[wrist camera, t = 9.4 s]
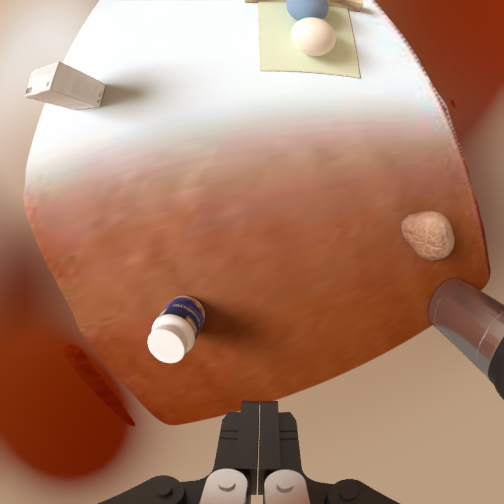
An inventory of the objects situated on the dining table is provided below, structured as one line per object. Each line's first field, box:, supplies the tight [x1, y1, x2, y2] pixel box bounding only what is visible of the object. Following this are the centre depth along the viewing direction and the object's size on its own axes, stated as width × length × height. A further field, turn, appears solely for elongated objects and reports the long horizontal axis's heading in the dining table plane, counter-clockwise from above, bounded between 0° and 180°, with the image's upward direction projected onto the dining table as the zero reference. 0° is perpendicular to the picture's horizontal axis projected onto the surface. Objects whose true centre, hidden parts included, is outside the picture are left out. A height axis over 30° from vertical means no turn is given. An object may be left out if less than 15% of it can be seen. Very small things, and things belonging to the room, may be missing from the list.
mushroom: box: [401, 211, 455, 261], centre depth 31 cm, size 8×6×8 cm
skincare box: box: [25, 62, 105, 110], centre depth 26 cm, size 6×4×12 cm
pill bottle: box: [148, 296, 205, 363], centre depth 34 cm, size 6×6×10 cm
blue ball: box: [286, 0, 329, 21], centre depth 25 cm, size 6×6×6 cm
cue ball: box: [291, 17, 336, 56], centre depth 27 cm, size 6×6×6 cm
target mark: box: [258, 2, 360, 78], centre depth 29 cm, size 14×14×1 cm
